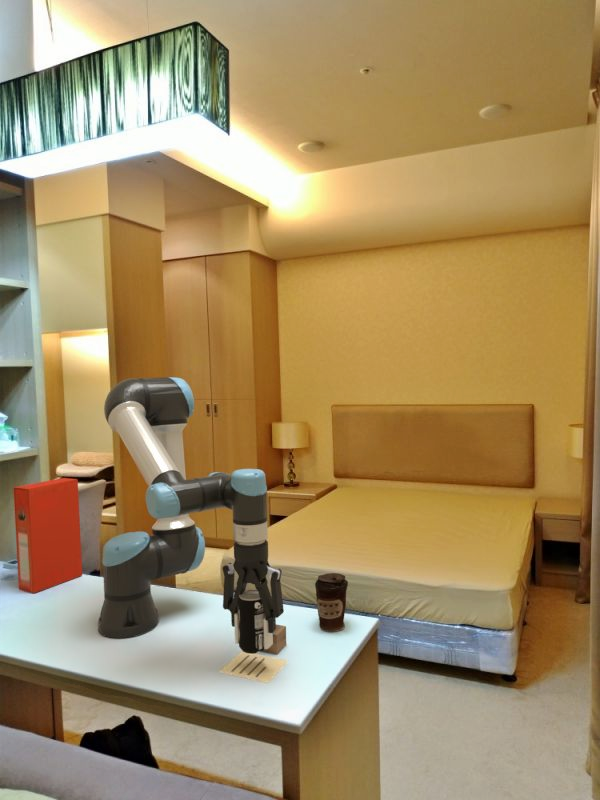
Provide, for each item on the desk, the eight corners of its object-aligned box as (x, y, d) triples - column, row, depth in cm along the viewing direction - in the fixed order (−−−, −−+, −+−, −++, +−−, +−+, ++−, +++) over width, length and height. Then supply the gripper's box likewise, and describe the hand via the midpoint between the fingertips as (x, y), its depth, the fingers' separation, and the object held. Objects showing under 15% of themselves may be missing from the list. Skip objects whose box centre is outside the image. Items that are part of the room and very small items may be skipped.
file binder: (18, 589, 177) (13, 487, 176) (66, 572, 192) (62, 477, 190) (34, 594, 173) (29, 489, 171) (82, 576, 188) (78, 479, 186)
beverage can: (239, 641, 129) (237, 589, 129) (268, 640, 130) (266, 587, 129) (238, 656, 123) (236, 601, 122) (269, 654, 123) (267, 599, 123)
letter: (219, 673, 124) (219, 672, 124) (241, 652, 134) (241, 651, 133) (268, 684, 120) (268, 682, 119) (288, 661, 129) (288, 660, 129)
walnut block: (258, 652, 134) (257, 631, 133) (267, 643, 138) (267, 622, 138) (277, 656, 132) (276, 635, 131) (286, 646, 136) (285, 626, 136)
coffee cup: (346, 636, 141) (345, 584, 140) (313, 633, 142) (312, 582, 142) (350, 620, 149) (349, 571, 148) (319, 618, 151) (317, 570, 150)
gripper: (203, 541, 126) (207, 643, 127) (283, 549, 118) (286, 659, 119) (221, 532, 133) (224, 629, 134) (298, 539, 125) (301, 643, 126)
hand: (254, 643), depth 126 cm, fingers closed on beverage can, 6 cm apart
